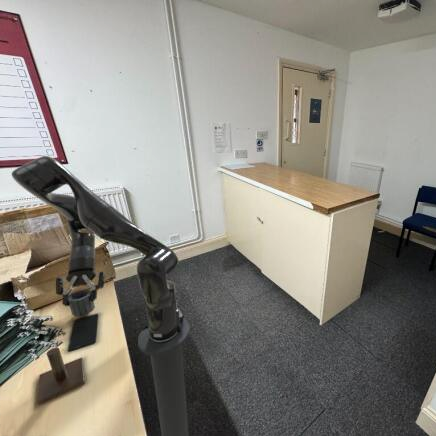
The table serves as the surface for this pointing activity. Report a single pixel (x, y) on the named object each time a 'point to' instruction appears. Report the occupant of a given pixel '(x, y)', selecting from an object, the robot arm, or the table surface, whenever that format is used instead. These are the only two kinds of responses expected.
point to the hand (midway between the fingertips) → (80, 303)
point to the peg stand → (59, 376)
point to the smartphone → (83, 332)
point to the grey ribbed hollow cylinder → (81, 303)
